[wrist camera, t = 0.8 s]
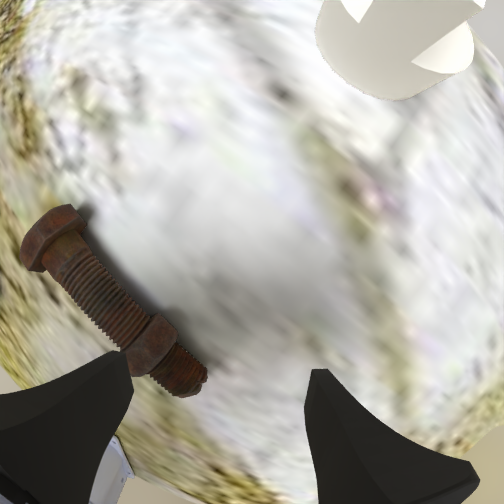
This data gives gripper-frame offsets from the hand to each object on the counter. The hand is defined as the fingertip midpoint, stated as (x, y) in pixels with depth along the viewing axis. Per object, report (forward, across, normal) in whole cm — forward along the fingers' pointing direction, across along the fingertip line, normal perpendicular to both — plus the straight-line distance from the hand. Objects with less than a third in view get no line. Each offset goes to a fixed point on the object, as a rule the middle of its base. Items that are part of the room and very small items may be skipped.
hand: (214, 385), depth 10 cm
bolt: (+9, +8, +1) cm, 12 cm away
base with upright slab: (+9, -9, -18) cm, 22 cm away
